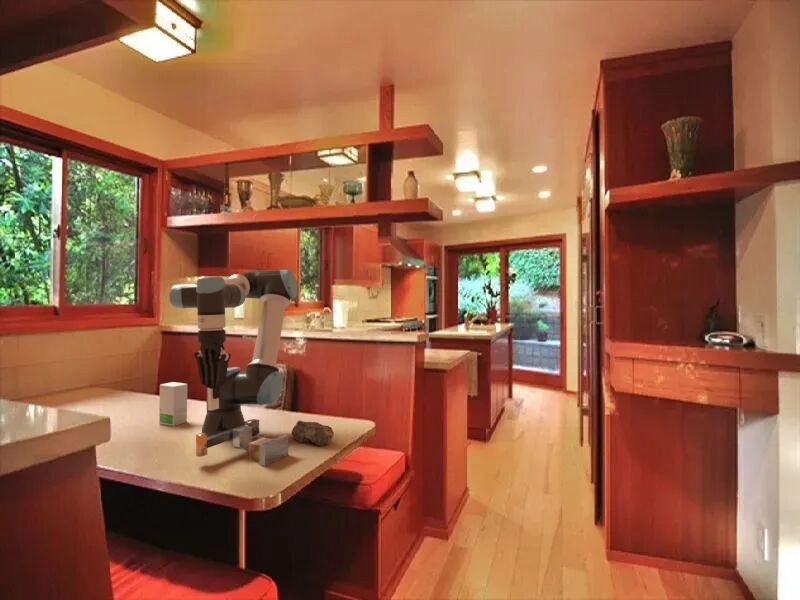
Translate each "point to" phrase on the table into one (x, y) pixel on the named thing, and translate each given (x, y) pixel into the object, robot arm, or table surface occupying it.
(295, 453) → the table surface
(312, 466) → the table surface
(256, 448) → the tan cardboard box
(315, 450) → the table surface
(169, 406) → the skincare box
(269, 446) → the grey piece
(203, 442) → the lever
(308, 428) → the rock
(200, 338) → the robot arm
